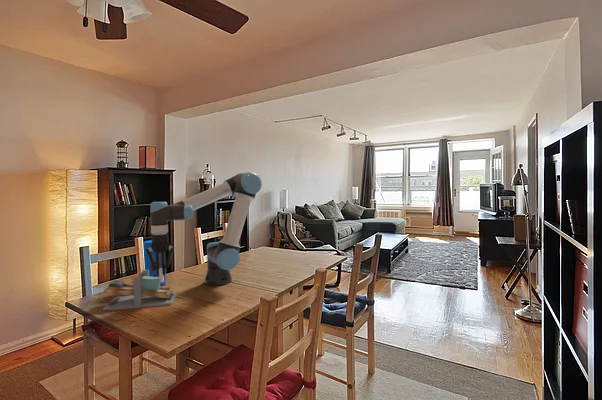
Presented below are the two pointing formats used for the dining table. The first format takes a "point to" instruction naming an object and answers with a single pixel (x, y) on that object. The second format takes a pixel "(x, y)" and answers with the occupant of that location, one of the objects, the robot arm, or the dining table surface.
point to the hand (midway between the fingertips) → (161, 281)
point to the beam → (128, 289)
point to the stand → (138, 299)
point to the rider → (150, 283)
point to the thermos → (148, 263)
